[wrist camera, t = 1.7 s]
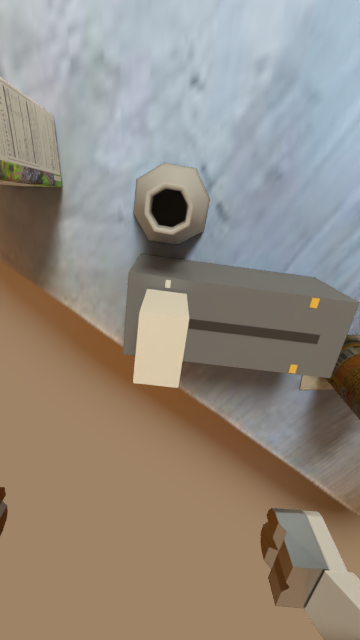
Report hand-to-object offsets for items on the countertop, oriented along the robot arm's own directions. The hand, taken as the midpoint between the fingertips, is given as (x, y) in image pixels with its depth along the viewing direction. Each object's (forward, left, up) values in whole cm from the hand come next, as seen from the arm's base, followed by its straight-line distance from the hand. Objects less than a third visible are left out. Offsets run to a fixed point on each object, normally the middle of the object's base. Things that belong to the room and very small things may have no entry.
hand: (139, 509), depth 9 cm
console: (-5, +3, -23) cm, 24 cm away
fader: (0, 0, -15) cm, 15 cm away
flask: (-4, -8, -24) cm, 25 cm away
